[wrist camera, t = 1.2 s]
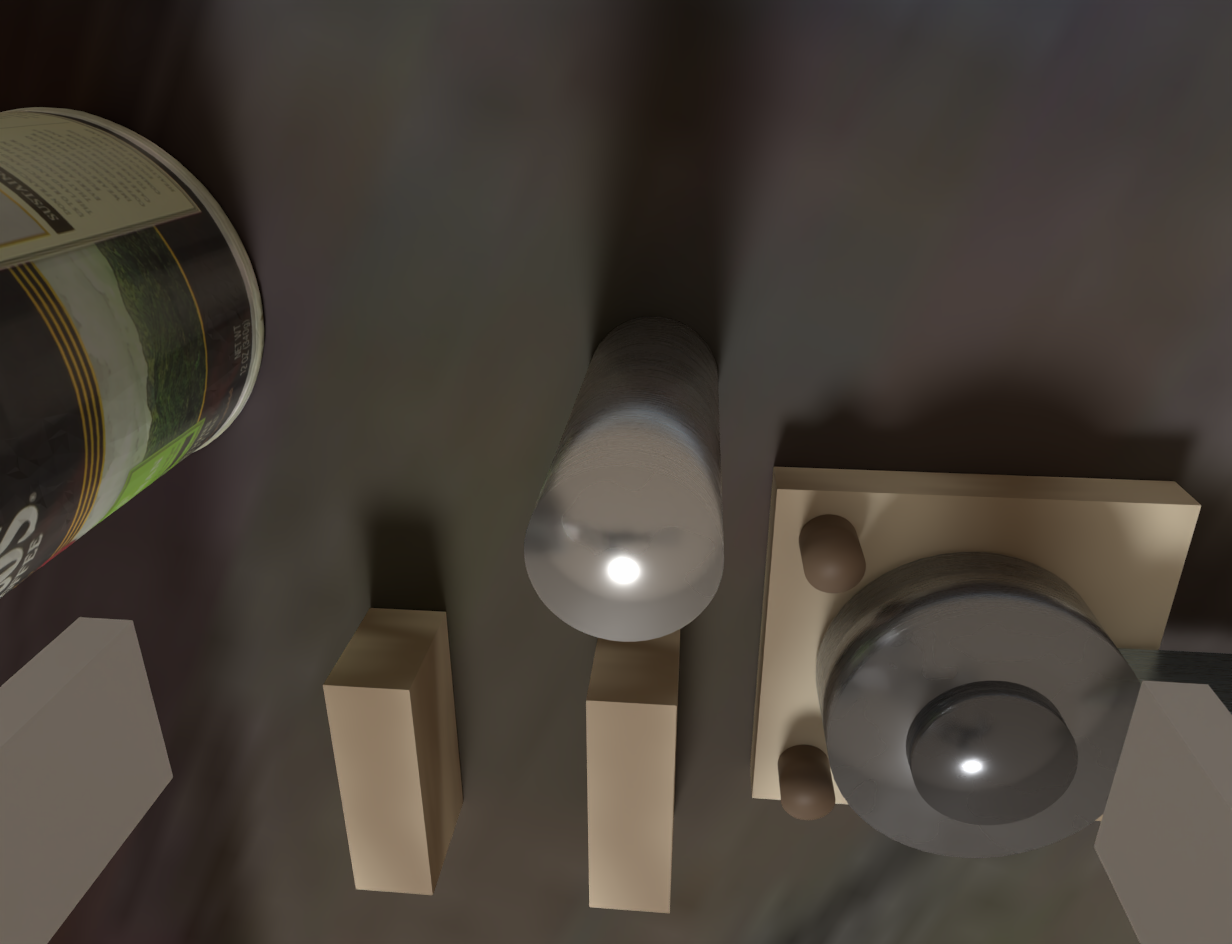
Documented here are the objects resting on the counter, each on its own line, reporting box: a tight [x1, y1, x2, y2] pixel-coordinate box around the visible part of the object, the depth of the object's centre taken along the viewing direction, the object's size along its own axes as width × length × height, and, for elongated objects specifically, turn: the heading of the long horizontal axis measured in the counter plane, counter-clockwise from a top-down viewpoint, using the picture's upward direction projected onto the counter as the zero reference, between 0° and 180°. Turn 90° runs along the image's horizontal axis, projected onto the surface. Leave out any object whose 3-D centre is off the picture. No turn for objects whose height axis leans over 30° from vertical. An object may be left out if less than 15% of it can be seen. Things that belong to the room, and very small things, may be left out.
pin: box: [524, 316, 724, 642], centre depth 21 cm, size 4×4×10 cm
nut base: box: [750, 467, 1201, 821], centre depth 27 cm, size 11×11×3 cm
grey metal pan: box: [816, 552, 1232, 858], centre depth 24 cm, size 16×8×4 cm, turn 90°
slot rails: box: [323, 608, 680, 913], centre depth 29 cm, size 10×8×4 cm
